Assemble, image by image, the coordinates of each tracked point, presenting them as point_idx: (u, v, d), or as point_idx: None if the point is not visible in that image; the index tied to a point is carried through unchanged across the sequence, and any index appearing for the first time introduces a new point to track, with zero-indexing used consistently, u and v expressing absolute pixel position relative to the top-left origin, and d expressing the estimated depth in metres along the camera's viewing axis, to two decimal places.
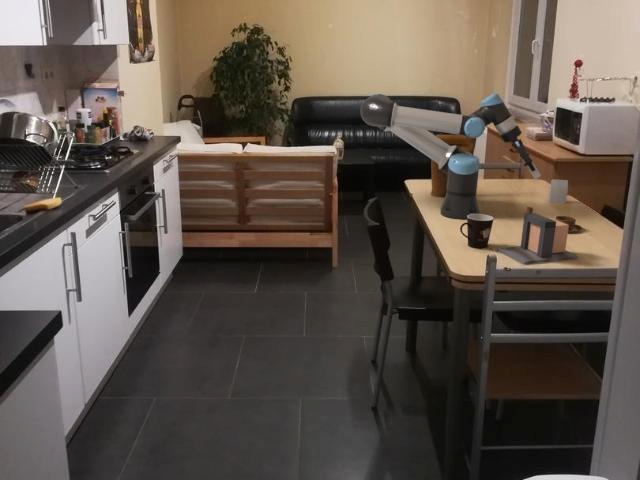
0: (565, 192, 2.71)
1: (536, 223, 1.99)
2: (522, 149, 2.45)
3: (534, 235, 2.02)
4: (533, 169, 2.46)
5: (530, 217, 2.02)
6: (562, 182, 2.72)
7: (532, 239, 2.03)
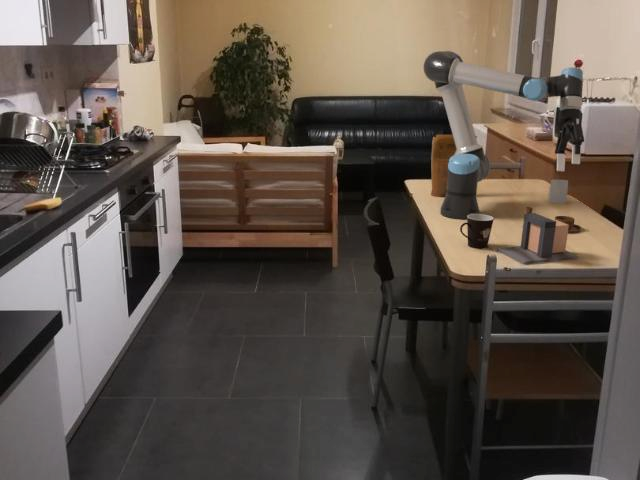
0: (565, 192, 2.71)
1: (536, 223, 1.99)
2: (579, 127, 2.23)
3: (534, 235, 2.02)
4: (578, 151, 2.22)
5: (530, 217, 2.02)
6: (562, 182, 2.72)
7: (532, 239, 2.03)
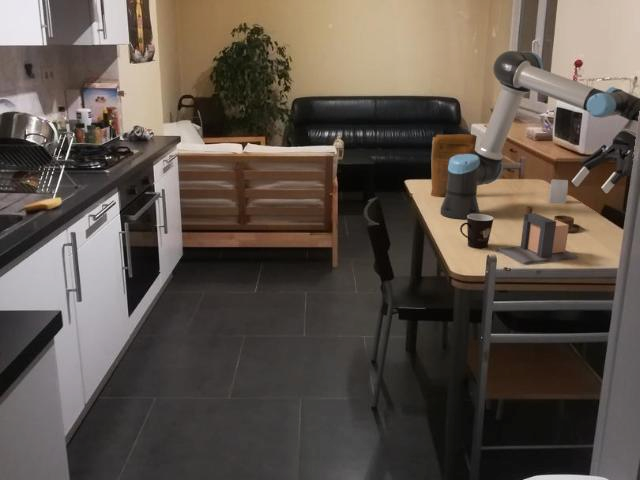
0: (565, 192, 2.71)
1: (536, 223, 1.99)
2: None
3: (534, 235, 2.02)
4: (615, 181, 1.98)
5: (530, 217, 2.02)
6: (562, 181, 2.72)
7: (532, 239, 2.03)
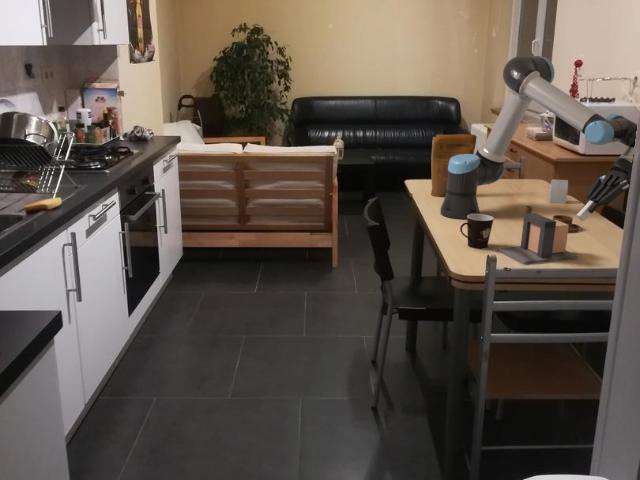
0: (565, 192, 2.71)
1: (536, 223, 1.99)
2: (618, 193, 2.01)
3: (534, 235, 2.02)
4: (592, 210, 2.03)
5: (530, 217, 2.02)
6: (562, 182, 2.72)
7: (532, 239, 2.03)
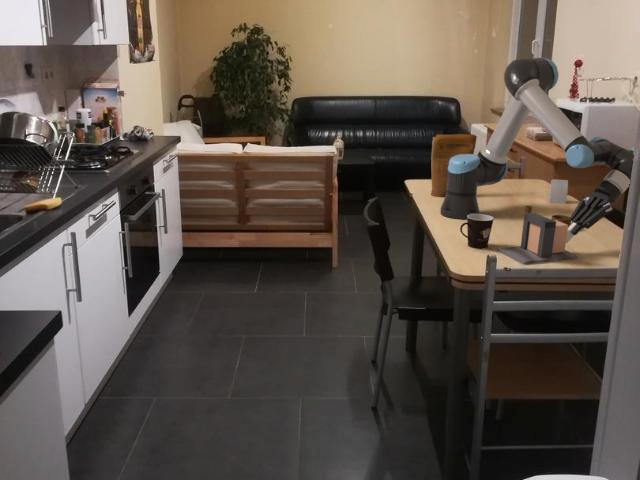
0: (565, 192, 2.71)
1: (536, 223, 1.99)
2: (601, 215, 2.02)
3: (534, 235, 2.02)
4: (575, 233, 2.04)
5: (530, 217, 2.02)
6: (562, 181, 2.72)
7: (532, 239, 2.03)
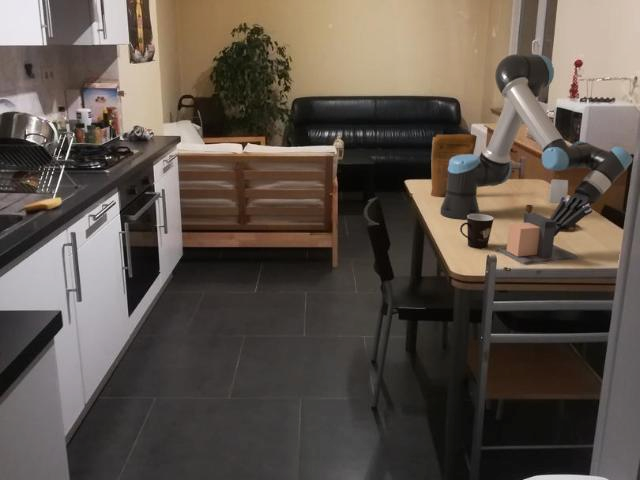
0: (565, 192, 2.71)
1: (536, 223, 1.99)
2: (580, 217, 2.00)
3: (513, 237, 2.00)
4: None
5: (530, 217, 2.02)
6: (562, 181, 2.72)
7: (511, 241, 2.01)
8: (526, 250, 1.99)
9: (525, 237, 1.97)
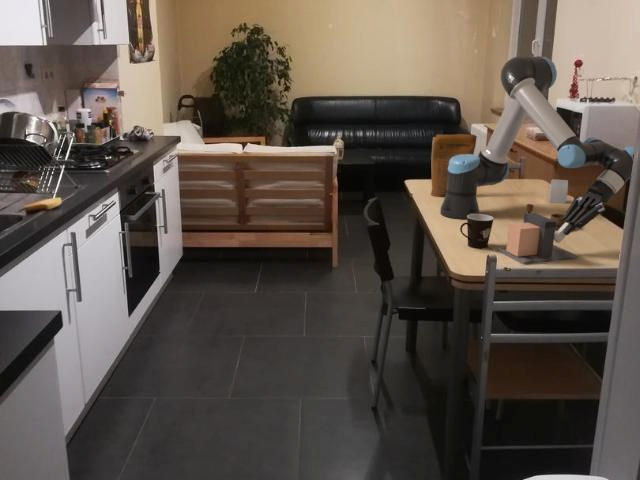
0: (565, 192, 2.71)
1: (536, 223, 1.99)
2: (593, 215, 2.01)
3: (513, 237, 2.00)
4: (567, 232, 2.03)
5: (530, 217, 2.02)
6: (562, 182, 2.72)
7: (511, 241, 2.01)
8: (526, 250, 1.99)
9: (525, 237, 1.97)
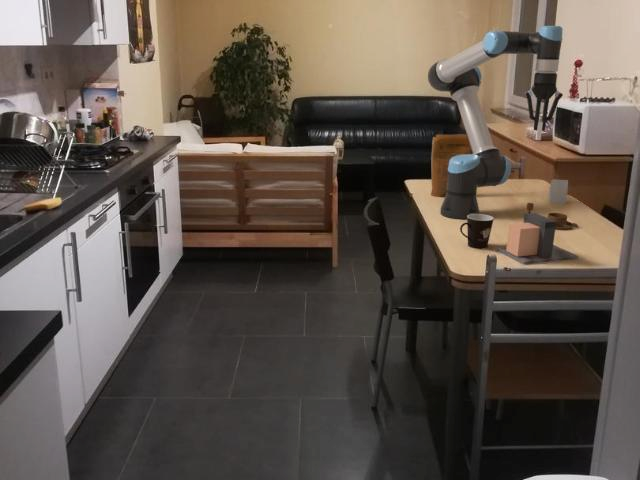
0: (565, 192, 2.71)
1: (536, 223, 1.99)
2: None
3: (513, 237, 2.00)
4: (544, 128, 2.27)
5: (530, 217, 2.02)
6: (562, 181, 2.72)
7: (511, 241, 2.01)
8: (526, 250, 1.99)
9: (525, 237, 1.97)
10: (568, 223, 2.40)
